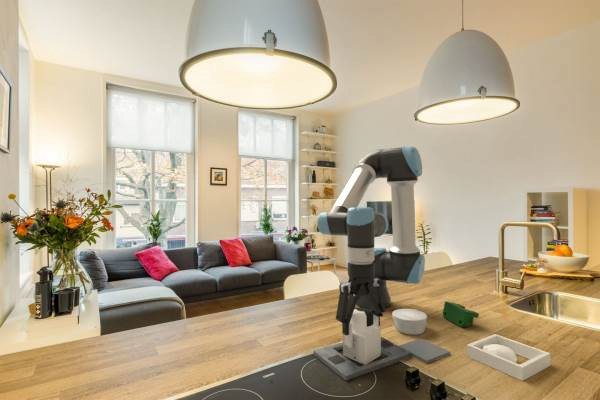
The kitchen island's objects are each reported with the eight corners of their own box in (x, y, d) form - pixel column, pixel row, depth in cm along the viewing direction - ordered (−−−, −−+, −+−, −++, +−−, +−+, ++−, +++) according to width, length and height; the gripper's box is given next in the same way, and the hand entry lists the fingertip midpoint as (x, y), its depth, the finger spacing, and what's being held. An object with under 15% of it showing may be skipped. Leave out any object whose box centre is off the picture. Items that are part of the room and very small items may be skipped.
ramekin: (391, 333, 103) (391, 317, 103) (393, 321, 113) (393, 306, 113) (428, 338, 99) (427, 322, 99) (426, 325, 110) (426, 310, 110)
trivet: (398, 348, 92) (397, 345, 92) (421, 340, 97) (421, 338, 97) (426, 363, 84) (426, 360, 84) (450, 354, 89) (450, 351, 89)
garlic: (484, 363, 84) (484, 349, 84) (479, 352, 90) (479, 339, 90) (519, 369, 81) (519, 354, 81) (512, 357, 87) (512, 343, 87)
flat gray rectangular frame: (313, 354, 89) (313, 350, 89) (374, 336, 100) (374, 332, 100) (345, 380, 76) (345, 375, 76) (411, 356, 87) (411, 352, 87)
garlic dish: (466, 356, 87) (466, 344, 88) (495, 344, 94) (495, 333, 94) (522, 381, 75) (522, 367, 75) (550, 365, 82) (550, 353, 82)
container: (358, 346, 94) (358, 303, 94) (381, 355, 88) (380, 309, 88) (342, 355, 88) (342, 309, 88) (365, 366, 83) (365, 316, 83)
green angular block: (471, 338, 109) (484, 318, 106) (456, 335, 108) (468, 315, 105) (453, 313, 120) (464, 294, 117) (439, 310, 119) (450, 291, 116)
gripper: (337, 268, 80) (338, 357, 80) (398, 260, 90) (399, 338, 90) (321, 263, 86) (322, 345, 86) (380, 256, 97) (380, 329, 97)
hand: (361, 341), depth 88 cm, fingers closed on container, 9 cm apart
